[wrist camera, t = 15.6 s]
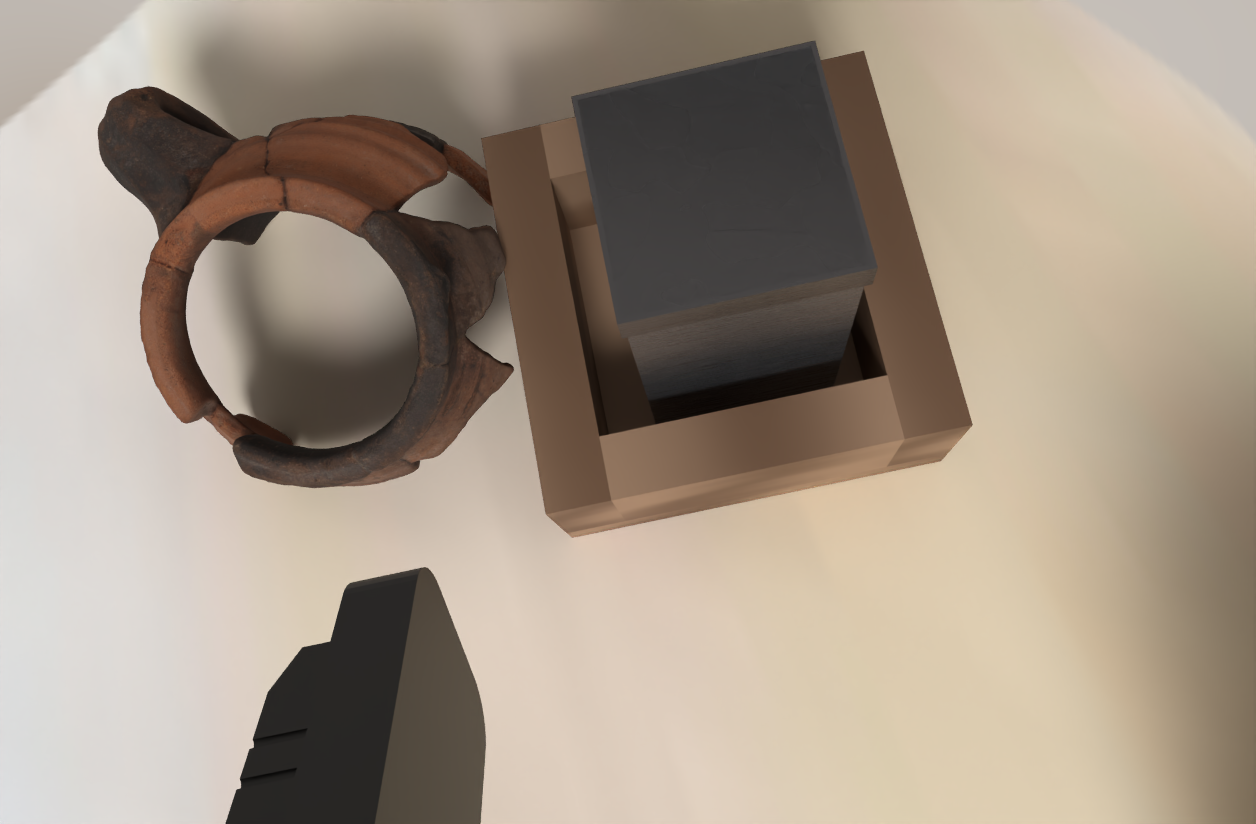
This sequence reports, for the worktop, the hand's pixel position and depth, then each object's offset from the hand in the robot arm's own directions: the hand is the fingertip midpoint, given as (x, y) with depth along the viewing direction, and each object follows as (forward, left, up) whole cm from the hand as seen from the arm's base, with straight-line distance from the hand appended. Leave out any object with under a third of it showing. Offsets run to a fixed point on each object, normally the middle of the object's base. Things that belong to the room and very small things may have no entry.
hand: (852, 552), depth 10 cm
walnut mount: (0, +8, -17) cm, 18 cm away
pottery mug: (-10, +11, -17) cm, 22 cm away
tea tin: (0, +8, -16) cm, 18 cm away
